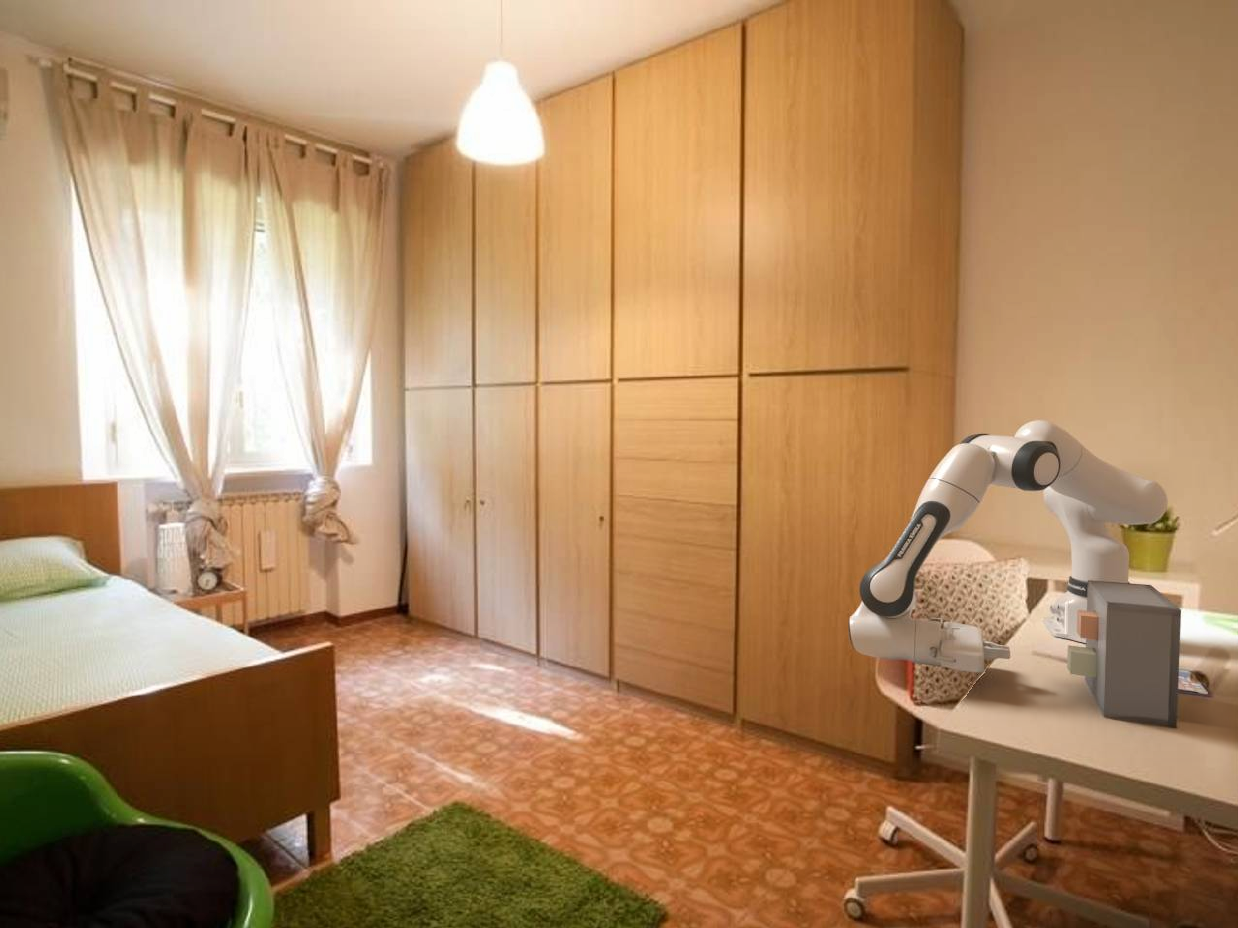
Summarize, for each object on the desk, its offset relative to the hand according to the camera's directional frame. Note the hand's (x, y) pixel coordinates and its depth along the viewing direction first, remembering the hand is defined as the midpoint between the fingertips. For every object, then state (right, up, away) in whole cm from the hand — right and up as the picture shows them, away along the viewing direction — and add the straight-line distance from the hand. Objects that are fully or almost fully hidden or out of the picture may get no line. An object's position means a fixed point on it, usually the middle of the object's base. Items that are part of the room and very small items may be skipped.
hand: (1009, 652), depth 132 cm
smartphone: (+34, -7, +2) cm, 35 cm away
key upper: (+12, +5, -7) cm, 14 cm away
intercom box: (+17, -7, -8) cm, 20 cm away
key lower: (+11, -2, -6) cm, 12 cm away
